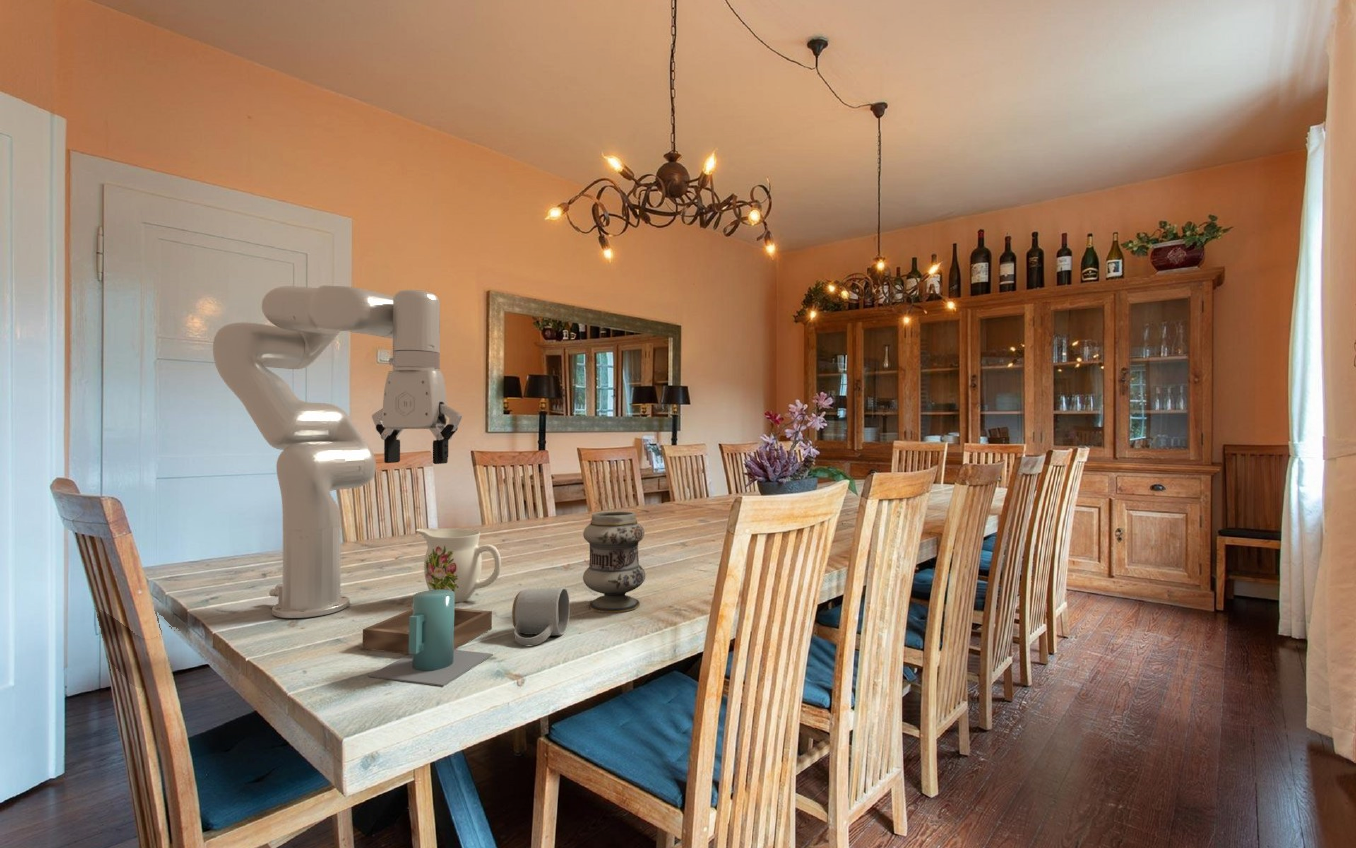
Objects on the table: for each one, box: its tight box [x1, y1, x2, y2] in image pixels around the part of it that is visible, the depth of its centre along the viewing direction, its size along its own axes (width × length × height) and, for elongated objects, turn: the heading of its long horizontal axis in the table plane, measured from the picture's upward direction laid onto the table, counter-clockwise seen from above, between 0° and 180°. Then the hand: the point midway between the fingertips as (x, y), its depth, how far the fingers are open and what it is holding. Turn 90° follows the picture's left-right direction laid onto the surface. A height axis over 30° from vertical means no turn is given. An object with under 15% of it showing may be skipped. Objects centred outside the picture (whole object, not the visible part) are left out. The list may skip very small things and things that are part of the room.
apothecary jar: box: [582, 510, 646, 614], centre depth 122 cm, size 12×12×18 cm
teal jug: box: [408, 589, 455, 671], centre depth 91 cm, size 7×6×10 cm
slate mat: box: [367, 649, 494, 687], centre depth 91 cm, size 12×12×1 cm
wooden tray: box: [362, 607, 493, 655], centre depth 103 cm, size 14×14×3 cm
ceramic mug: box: [511, 586, 571, 646], centre depth 105 cm, size 11×8×8 cm
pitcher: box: [415, 528, 502, 604], centre depth 127 cm, size 11×18×14 cm, turn 82°
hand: (416, 463), depth 109 cm, fingers open, 9 cm apart
